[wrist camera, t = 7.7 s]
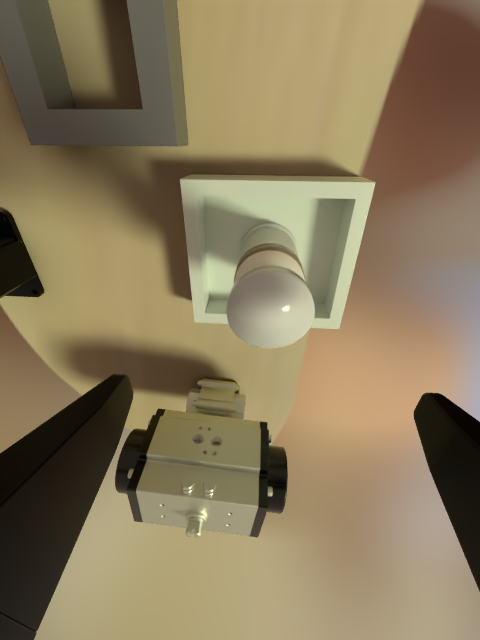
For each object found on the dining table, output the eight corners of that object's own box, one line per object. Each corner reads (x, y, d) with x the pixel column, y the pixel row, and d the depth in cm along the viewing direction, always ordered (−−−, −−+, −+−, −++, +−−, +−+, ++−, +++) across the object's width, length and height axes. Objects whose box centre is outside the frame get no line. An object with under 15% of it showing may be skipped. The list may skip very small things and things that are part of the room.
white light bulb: (239, 276, 20) (227, 346, 13) (240, 221, 18) (225, 271, 11) (293, 278, 20) (308, 350, 13) (300, 223, 18) (321, 275, 11)
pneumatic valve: (273, 413, 29) (278, 560, 19) (161, 398, 29) (106, 538, 19) (283, 374, 26) (296, 526, 16) (158, 358, 26) (90, 499, 16)
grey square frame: (60, 144, 17) (30, 144, 15) (-2, -64, 12) (-56, -105, 10) (188, 145, 16) (177, 146, 14) (170, -71, 12) (150, -115, 10)
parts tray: (201, 304, 22) (194, 322, 20) (190, 174, 17) (180, 179, 15) (331, 309, 21) (339, 329, 19) (361, 176, 16) (375, 182, 14)
